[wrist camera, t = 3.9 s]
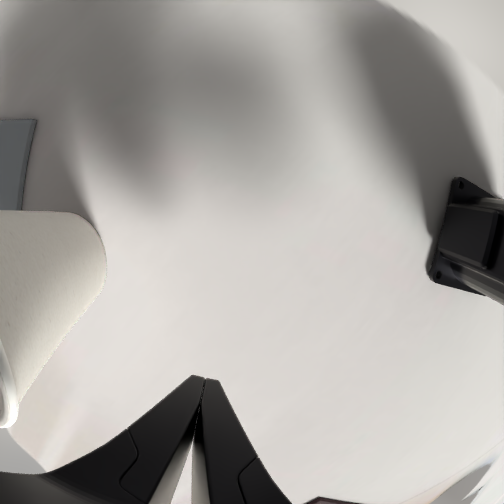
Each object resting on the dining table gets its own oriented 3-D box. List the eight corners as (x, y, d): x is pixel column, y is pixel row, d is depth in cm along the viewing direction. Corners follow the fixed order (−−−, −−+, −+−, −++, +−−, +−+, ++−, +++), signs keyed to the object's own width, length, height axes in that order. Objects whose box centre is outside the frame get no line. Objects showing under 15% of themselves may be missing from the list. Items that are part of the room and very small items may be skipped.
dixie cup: (11, 213, 13) (-107, 243, 4) (106, 167, 13) (-52, 158, 3) (48, 331, 15) (-42, 413, 5) (148, 315, 15) (58, 448, 5)
